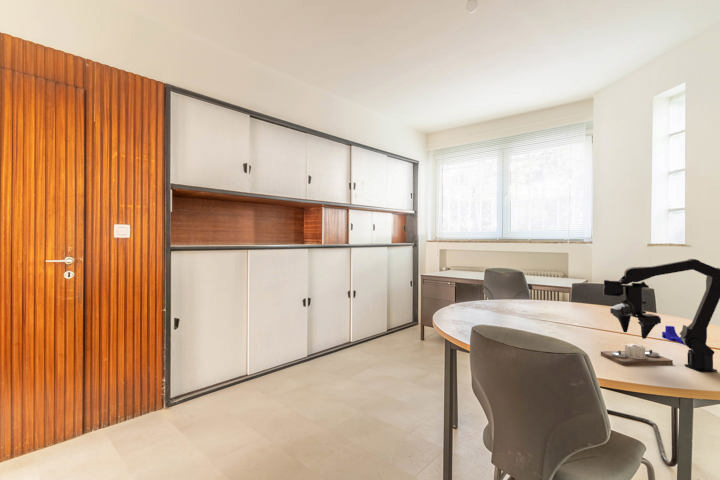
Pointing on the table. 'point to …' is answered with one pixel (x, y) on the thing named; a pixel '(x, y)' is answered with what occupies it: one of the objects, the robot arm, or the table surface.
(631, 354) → the loose gear
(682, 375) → the table surface
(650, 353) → the gear peg base
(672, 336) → the blue bracket
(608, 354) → the gear board
